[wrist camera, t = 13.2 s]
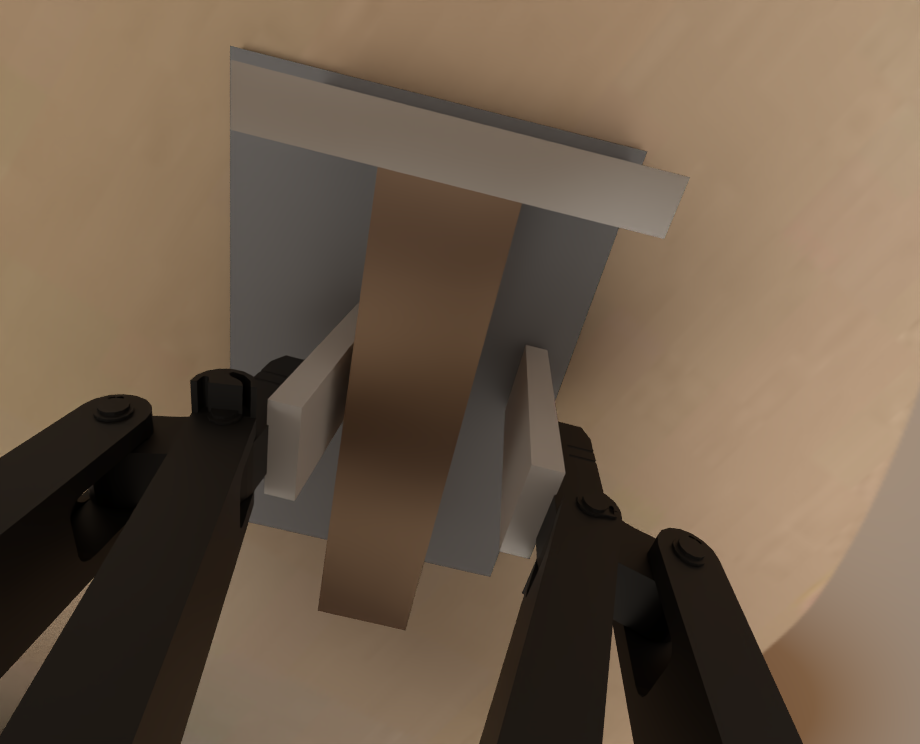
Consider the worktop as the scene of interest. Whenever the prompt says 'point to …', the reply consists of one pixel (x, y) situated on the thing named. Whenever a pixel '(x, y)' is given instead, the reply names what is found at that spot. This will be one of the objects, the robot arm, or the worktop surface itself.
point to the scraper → (425, 298)
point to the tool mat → (339, 287)
